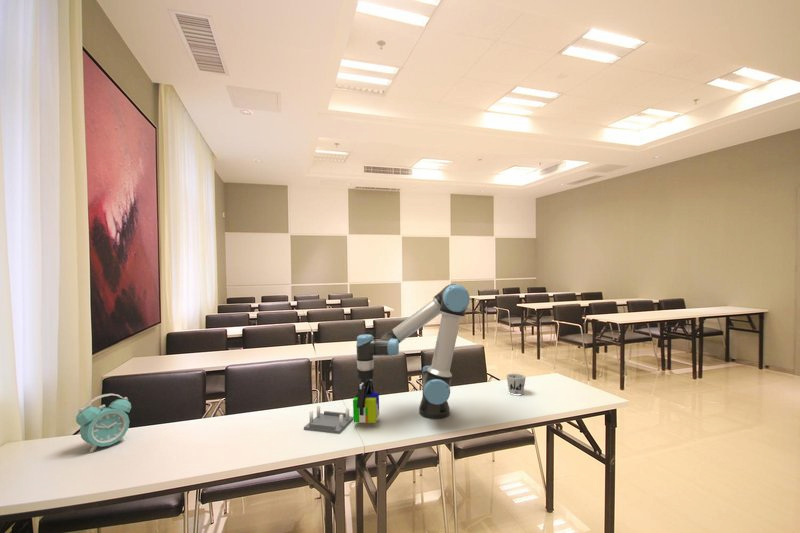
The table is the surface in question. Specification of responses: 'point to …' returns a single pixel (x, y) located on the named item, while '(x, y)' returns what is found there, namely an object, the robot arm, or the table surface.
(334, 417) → the tray
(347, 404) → the table surface
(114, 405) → the alarm clock
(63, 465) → the table surface
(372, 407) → the puzzle toy
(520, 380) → the mug
